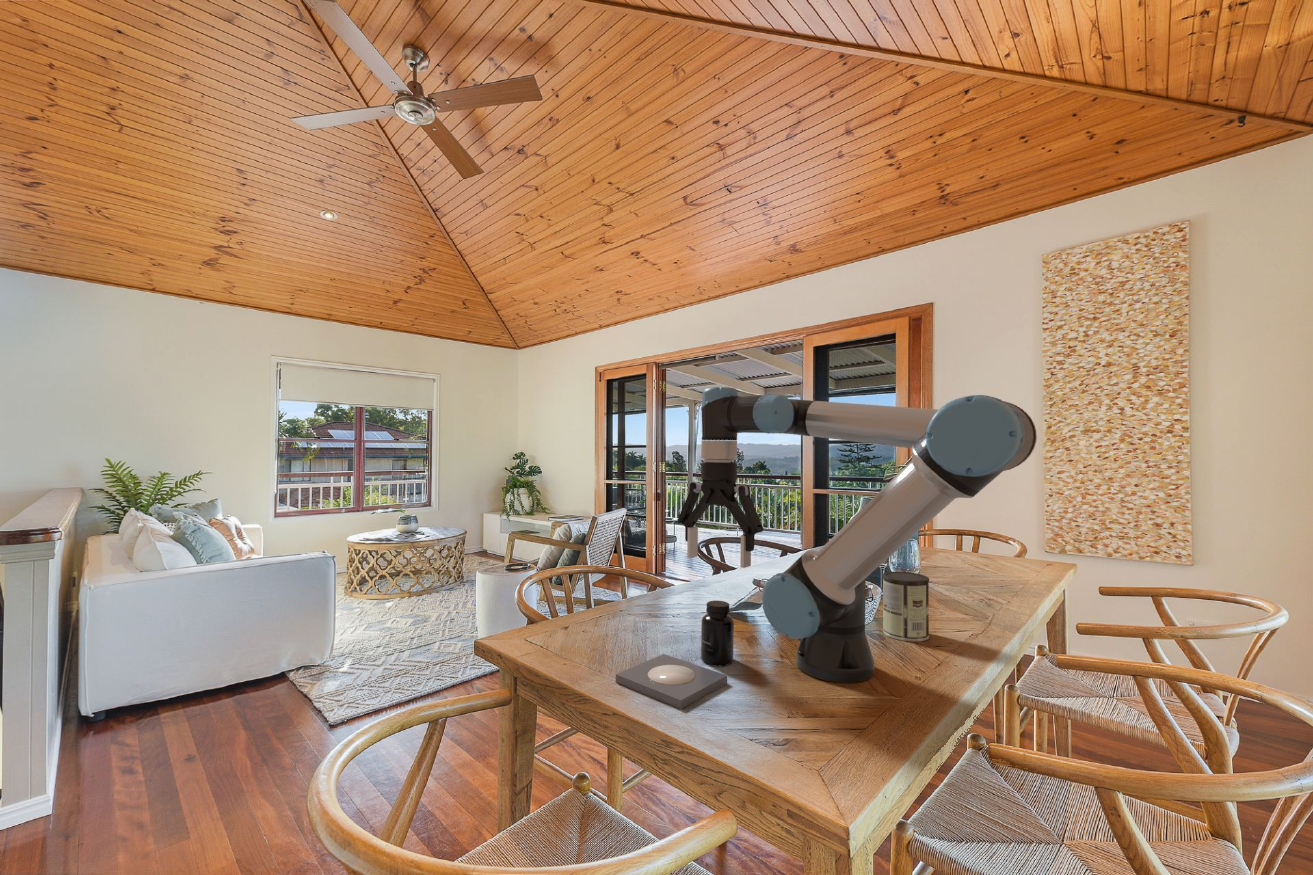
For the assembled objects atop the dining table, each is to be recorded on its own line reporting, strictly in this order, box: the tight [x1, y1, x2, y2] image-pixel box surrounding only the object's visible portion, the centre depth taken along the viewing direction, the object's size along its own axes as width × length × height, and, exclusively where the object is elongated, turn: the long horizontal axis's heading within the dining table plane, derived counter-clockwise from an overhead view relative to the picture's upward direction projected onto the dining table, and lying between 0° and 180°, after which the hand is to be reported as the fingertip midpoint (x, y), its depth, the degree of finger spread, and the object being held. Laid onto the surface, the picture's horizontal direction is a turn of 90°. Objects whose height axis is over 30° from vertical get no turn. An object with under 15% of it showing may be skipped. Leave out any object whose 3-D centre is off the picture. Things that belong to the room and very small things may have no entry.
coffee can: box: [882, 571, 930, 643], centre depth 135 cm, size 10×10×14 cm
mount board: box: [615, 653, 728, 710], centre depth 107 cm, size 16×14×2 cm
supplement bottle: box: [700, 600, 735, 667], centre depth 118 cm, size 7×7×12 cm
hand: (718, 561), depth 118 cm, fingers open, 13 cm apart
